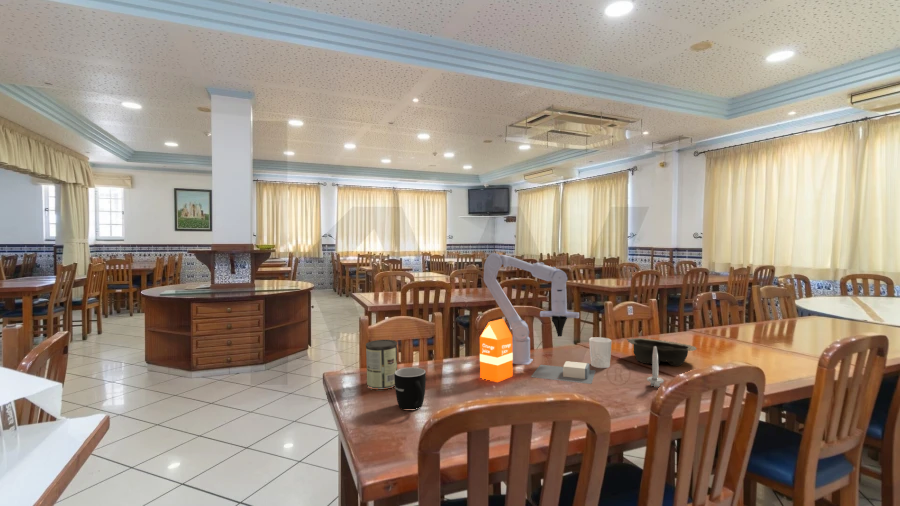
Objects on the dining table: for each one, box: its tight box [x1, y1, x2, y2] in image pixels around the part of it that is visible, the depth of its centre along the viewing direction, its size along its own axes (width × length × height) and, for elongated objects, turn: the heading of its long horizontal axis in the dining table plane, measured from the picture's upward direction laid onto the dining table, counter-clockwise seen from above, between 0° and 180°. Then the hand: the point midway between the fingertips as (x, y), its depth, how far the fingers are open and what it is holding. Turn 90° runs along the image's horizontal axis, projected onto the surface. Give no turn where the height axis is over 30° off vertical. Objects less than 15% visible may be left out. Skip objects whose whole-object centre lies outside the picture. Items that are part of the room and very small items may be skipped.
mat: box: [530, 364, 597, 385], centre depth 153 cm, size 20×16×1 cm
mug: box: [394, 366, 427, 410], centre depth 123 cm, size 12×9×10 cm
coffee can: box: [365, 339, 398, 389], centre depth 144 cm, size 10×10×14 cm
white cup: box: [588, 336, 612, 369], centre depth 162 cm, size 8×8×10 cm
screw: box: [646, 346, 665, 388], centre depth 139 cm, size 13×5×5 cm
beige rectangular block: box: [562, 360, 591, 379], centre depth 151 cm, size 4×7×8 cm
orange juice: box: [479, 318, 514, 383], centre depth 150 cm, size 8×9×20 cm
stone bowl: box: [626, 337, 698, 367], centre depth 168 cm, size 25×25×9 cm
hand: (559, 335), depth 167 cm, fingers closed
